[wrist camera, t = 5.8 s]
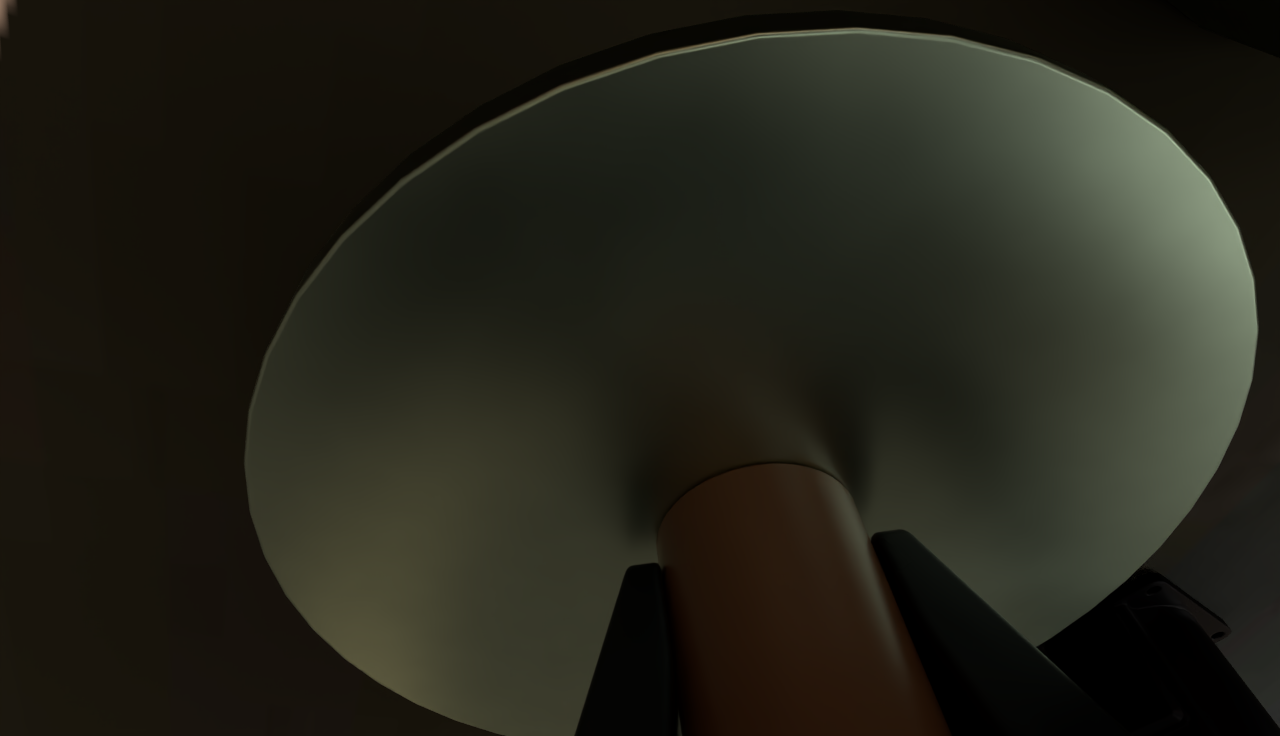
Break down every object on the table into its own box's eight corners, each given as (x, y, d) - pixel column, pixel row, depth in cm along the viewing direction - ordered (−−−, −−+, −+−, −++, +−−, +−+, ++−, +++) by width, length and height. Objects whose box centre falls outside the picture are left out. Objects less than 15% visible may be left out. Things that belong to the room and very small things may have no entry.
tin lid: (1333, 385, 11) (1817, 759, 7) (742, 744, 16) (807, 1075, 12) (722, -401, 5) (1363, -1072, 1) (127, 548, 10) (-144, 1037, 6)
